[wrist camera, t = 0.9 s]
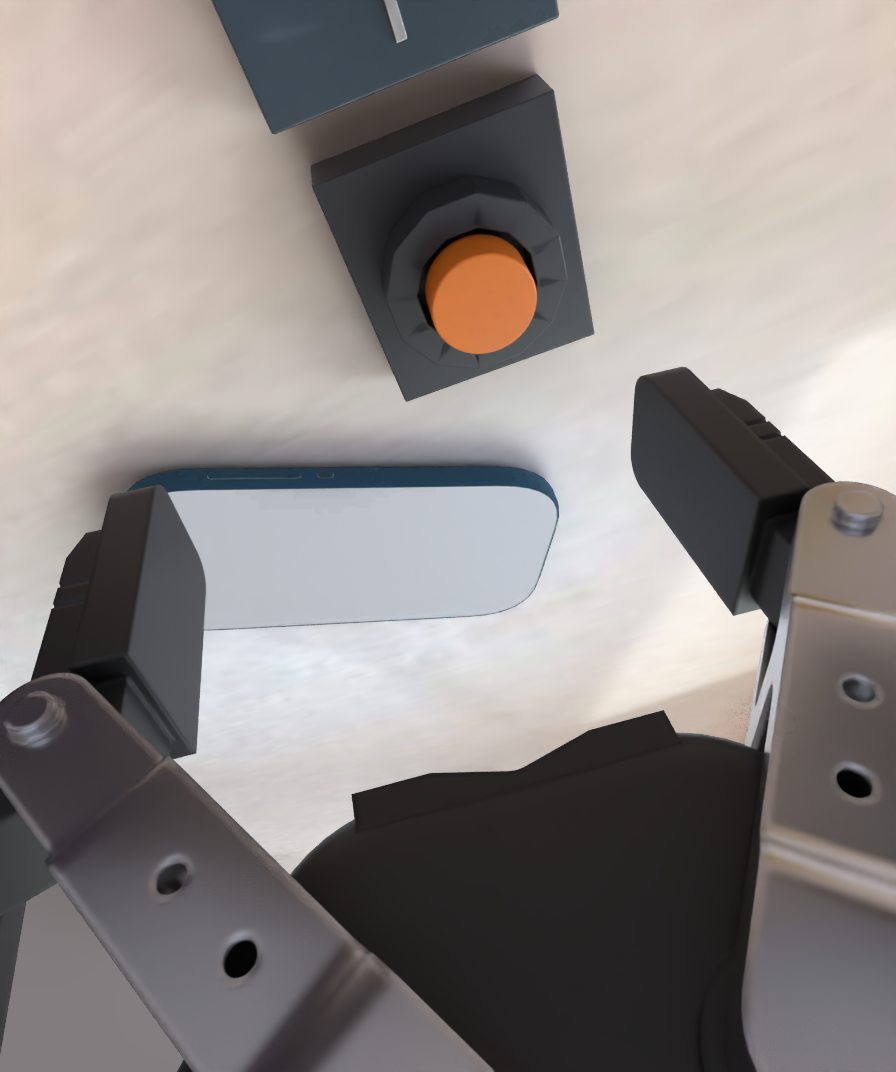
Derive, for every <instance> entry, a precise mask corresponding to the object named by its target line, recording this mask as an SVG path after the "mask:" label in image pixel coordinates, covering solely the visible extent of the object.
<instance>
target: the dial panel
mask: <svg viewBox="0 0 896 1072" xmlns="http://www.w3.org/2000/svg"><path fill="white" fill-rule="evenodd" d="M211 1H212V3H213V5H214V7H215V10H216V12H217V14H218V16H219V19H220V21H221V23H222V25H223V27H224V30H225V32H226V34H227V36H228V38H229V41H230V43H231V45H232V47H233V49H234V52H235V54H236V56H237V58H238V60H239V63H240V65H241V67H242V69H243V71H244V74H245V76H246V78H247V80H248V83H249V85H250V87H251V89H252V91H253V94H254V96H255V98H256V100H257V102H258V105H259V107H260V109H261V111H262V113H263V116H264V118H265V120H266V122H267V124H268V127H269V129H270V131H271V133H272V134H277V133H279V132H282V131H284V130H287V129H289V128H292V127H294V126H296V125H299V124H301V123H304V122H306V121H309V120H311V119H313V118H316V117H318V116H321V115H323V114H326V113H328V112H330V111H333V110H335V109H338V108H340V107H343V106H345V105H347V104H350V103H352V102H355V101H357V100H360V99H362V98H364V97H367V96H369V95H372V94H374V93H377V92H379V91H381V90H384V89H386V88H389V87H391V86H394V85H396V84H398V83H401V82H403V81H406V80H408V79H411V78H413V77H415V76H418V75H420V74H423V73H425V72H428V71H430V70H432V69H435V68H437V67H440V66H442V65H445V64H447V63H449V62H452V61H454V60H457V59H459V58H462V57H464V56H466V55H469V54H471V53H474V52H476V51H479V50H481V49H483V48H486V47H488V46H491V45H493V44H496V43H498V42H500V41H503V40H505V39H508V38H510V37H513V36H515V35H517V34H520V33H522V32H525V31H527V30H530V29H532V28H534V27H537V26H539V25H542V24H544V23H547V22H549V21H551V20H554V19H556V18H557V17H558V16H559V11H558V5H557V0H211Z"/></svg>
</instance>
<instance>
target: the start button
mask: <svg viewBox="0 0 896 1072" xmlns="http://www.w3.org/2000/svg"><path fill="white" fill-rule="evenodd" d="M425 294H426V300H427V304H428V307H429V310H430V314H431V317H432V320H433V324H434V326H435V329H436V331H437V332H438V334H439V335H440V337H441V338H442V339H443V340H444V341H445V342H446V343H447V344H449V345H450V346H452V347H453V348H455V349H457V350H460V351H463V352H466V353H472V354H484V353H490V352H494V351H497V350H500V349H502V348H504V347H506V346H508V345H509V344H511V343H512V342H514V341H515V340H516V339H517V338H518V337H520V336H521V334H522V333H523V332H524V331H525V330H526V328H527V327H528V325H529V324H530V322H531V320H532V318H533V315H534V312H535V308H536V303H537V291H536V285H535V282H534V279H533V277H532V275H531V273H530V271H529V270H528V268H527V266H526V264H525V262H524V260H523V259H522V257H521V255H520V254H519V252H518V251H517V250H516V249H515V247H514V246H513V245H511V244H510V243H509V242H507V241H506V240H504V239H502V238H499V237H497V236H493V235H487V234H475V235H469V236H466V237H463V238H460V239H458V240H456V241H454V242H452V243H451V244H449V245H448V246H447V247H446V248H444V249H443V250H442V251H441V252H440V253H439V254H438V256H437V257H436V258H435V260H434V261H433V263H432V265H431V266H430V269H429V271H428V274H427V278H426V284H425Z"/></svg>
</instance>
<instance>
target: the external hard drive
mask: <svg viewBox="0 0 896 1072" xmlns="http://www.w3.org/2000/svg"><path fill="white" fill-rule="evenodd" d="M155 485H161V486H163V487H164V488H165V490H166V491H167V493H168V494H169V496H170V498H171V500H172V502H173V504H174V506H175V508H176V510H177V512H178V514H179V516H180V518H181V520H182V522H183V524H184V526H185V528H186V530H187V532H188V534H189V536H190V538H191V540H192V542H193V544H194V546H195V548H196V550H197V552H198V554H199V557H200V559H201V562H202V566H203V569H204V574H205V580H206V601H205V617H204V630H229V629H248V628H267V627H285V626H304V625H323V624H341V623H360V622H379V621H397V620H416V619H435V618H454V617H471V616H482V615H488V614H494V613H498V612H501V611H505V610H508V609H510V608H512V607H515V606H517V605H518V604H520V603H521V602H523V601H524V600H525V599H526V598H528V597H529V596H530V594H531V593H532V592H533V590H534V589H535V587H536V585H537V582H538V580H539V577H540V575H541V572H542V569H543V566H544V563H545V560H546V557H547V554H548V551H549V548H550V545H551V542H552V539H553V536H554V532H555V529H556V525H557V521H558V517H559V506H558V502H557V499H556V497H555V494H554V491H553V489H552V487H551V486H550V485H549V483H548V482H547V481H546V480H545V479H544V478H542V477H541V476H539V475H537V474H536V473H533V472H530V471H527V470H524V469H518V468H511V467H372V468H243V469H186V470H175V471H168V472H162V473H159V474H155V475H152V476H149V477H146V478H145V479H143V480H141V481H139V482H137V483H136V484H135V485H133V486H132V487H131V488H130V489H129V490H128V491H133V490H137V489H141V488H146V487H150V486H155ZM128 491H127V492H128Z"/></svg>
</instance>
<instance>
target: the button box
mask: <svg viewBox="0 0 896 1072" xmlns="http://www.w3.org/2000/svg"><path fill="white" fill-rule="evenodd" d="M311 174H312V187H313V190H314V192H315V195H316V197H317V199H318V201H319V204H320V206H321V208H322V211H323V213H324V215H325V218H326V220H327V222H328V224H329V227H330V229H331V231H332V234H333V236H334V238H335V240H336V243H337V245H338V247H339V250H340V252H341V254H342V257H343V259H344V261H345V263H346V266H347V268H348V270H349V273H350V275H351V277H352V279H353V282H354V284H355V286H356V289H357V291H358V293H359V296H360V298H361V300H362V302H363V305H364V307H365V309H366V312H367V314H368V316H369V318H370V321H371V323H372V325H373V328H374V330H375V332H376V334H377V337H378V339H379V341H380V344H381V346H382V348H383V351H384V353H385V355H386V357H387V360H388V362H389V364H390V367H391V369H392V371H393V373H394V376H395V378H396V380H397V383H398V385H399V387H400V390H401V392H402V394H403V396H404V399H405V401H406V402H407V401H410V400H413V399H415V398H418V397H421V396H424V395H426V394H429V393H432V392H435V391H438V390H440V389H443V388H446V387H449V386H451V385H454V384H457V383H460V382H463V381H465V380H468V379H471V378H474V377H476V376H479V375H482V374H485V373H488V372H490V371H493V370H496V369H499V368H501V367H504V366H507V365H510V364H512V363H515V362H518V361H521V360H524V359H526V358H529V357H532V356H535V355H537V354H540V353H543V352H546V351H549V350H551V349H554V348H557V347H560V346H562V345H565V344H568V343H571V342H574V341H576V340H579V339H582V338H585V337H587V336H590V335H593V334H594V329H593V323H592V317H591V311H590V305H589V299H588V293H587V287H586V281H585V275H584V269H583V263H582V257H581V251H580V245H579V239H578V233H577V227H576V221H575V215H574V209H573V203H572V197H571V191H570V185H569V179H568V173H567V167H566V161H565V155H564V149H563V143H562V137H561V131H560V125H559V119H558V113H557V107H556V101H555V95H554V91H553V89H552V88H551V87H550V86H549V85H548V84H547V83H546V82H545V81H544V80H543V79H542V78H541V77H540V76H539V75H535V76H532V77H530V78H527V79H525V80H522V81H520V82H517V83H515V84H512V85H510V86H508V87H505V88H503V89H500V90H498V91H495V92H493V93H490V94H488V95H485V96H483V97H480V98H478V99H475V100H473V101H470V102H468V103H465V104H463V105H461V106H458V107H456V108H453V109H451V110H448V111H446V112H443V113H441V114H438V115H436V116H433V117H431V118H428V119H426V120H423V121H421V122H418V123H416V124H414V125H411V126H409V127H406V128H404V129H401V130H399V131H396V132H394V133H391V134H389V135H386V136H384V137H381V138H379V139H376V140H374V141H371V142H369V143H367V144H364V145H362V146H359V147H357V148H354V149H352V150H349V151H347V152H344V153H342V154H339V155H337V156H334V157H332V158H329V159H327V160H324V161H322V162H320V163H317V164H315V165H312V166H311ZM475 234H487V235H493V236H497V237H499V238H502V239H504V240H506V241H507V242H509V243H510V244H511V245H513V246H514V247H515V249H516V250H517V251H518V252H519V254H520V255H521V257H522V259H523V260H524V262H525V264H526V266H527V268H528V270H529V271H530V273H531V275H532V277H533V279H534V282H535V285H536V291H537V303H536V308H535V312H534V315H533V318H532V320H531V322H530V324H529V325H528V327H527V328H526V330H525V331H524V332H523V333H522V334H521V336H520V337H518V338H517V339H516V340H515V341H514V342H512V343H511V344H509V345H508V346H506V347H504V348H502V349H500V350H497V351H494V352H490V353H484V354H472V353H466V352H463V351H460V350H457V349H455V348H453V347H452V346H450V345H449V344H447V343H446V342H445V341H444V340H443V339H442V338H441V337H440V335H439V334H438V332H437V331H436V329H435V326H434V324H433V320H432V317H431V314H430V310H429V307H428V304H427V300H426V294H425V284H426V278H427V274H428V271H429V269H430V266H431V265H432V263H433V261H434V260H435V258H436V257H437V256H438V254H439V253H440V252H441V251H442V250H443V249H444V248H446V247H447V246H448V245H449V244H451V243H452V242H454V241H456V240H458V239H460V238H463V237H466V236H469V235H475Z"/></svg>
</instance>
